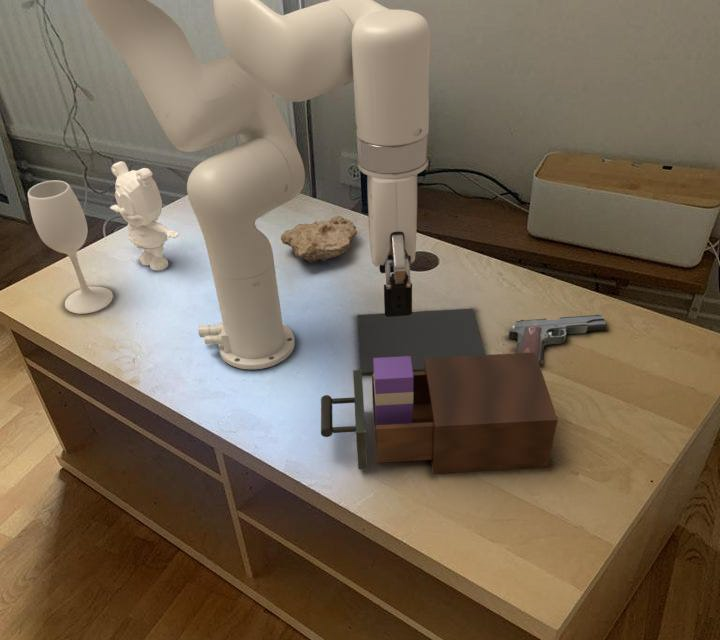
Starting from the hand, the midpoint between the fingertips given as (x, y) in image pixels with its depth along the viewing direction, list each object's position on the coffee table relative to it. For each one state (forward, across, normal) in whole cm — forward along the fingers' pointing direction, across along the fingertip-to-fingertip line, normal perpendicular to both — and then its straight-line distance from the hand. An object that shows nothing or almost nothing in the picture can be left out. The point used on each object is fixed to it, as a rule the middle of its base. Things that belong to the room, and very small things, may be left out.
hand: (395, 292), depth 89 cm
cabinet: (+23, +2, +12) cm, 26 cm away
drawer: (+22, +2, -1) cm, 22 cm away
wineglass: (+22, -40, -54) cm, 70 cm away
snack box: (+21, +2, -1) cm, 21 cm away
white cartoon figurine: (+22, -52, -44) cm, 71 cm away
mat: (+23, -21, +5) cm, 32 cm away
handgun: (+23, -20, +26) cm, 40 cm away
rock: (+23, -52, -10) cm, 58 cm away
